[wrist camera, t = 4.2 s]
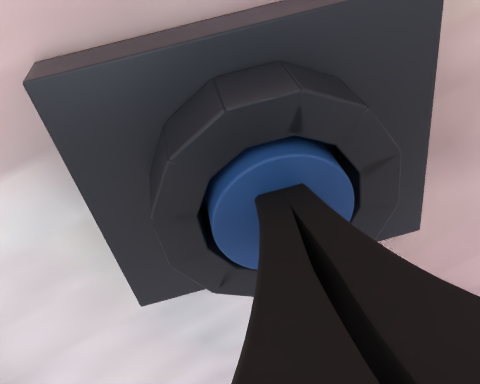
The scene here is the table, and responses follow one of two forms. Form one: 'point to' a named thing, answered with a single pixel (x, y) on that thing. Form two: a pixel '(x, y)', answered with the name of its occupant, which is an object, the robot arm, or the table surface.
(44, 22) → the table surface
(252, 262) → the blue button cap
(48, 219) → the table surface
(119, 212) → the button base
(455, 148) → the table surface
